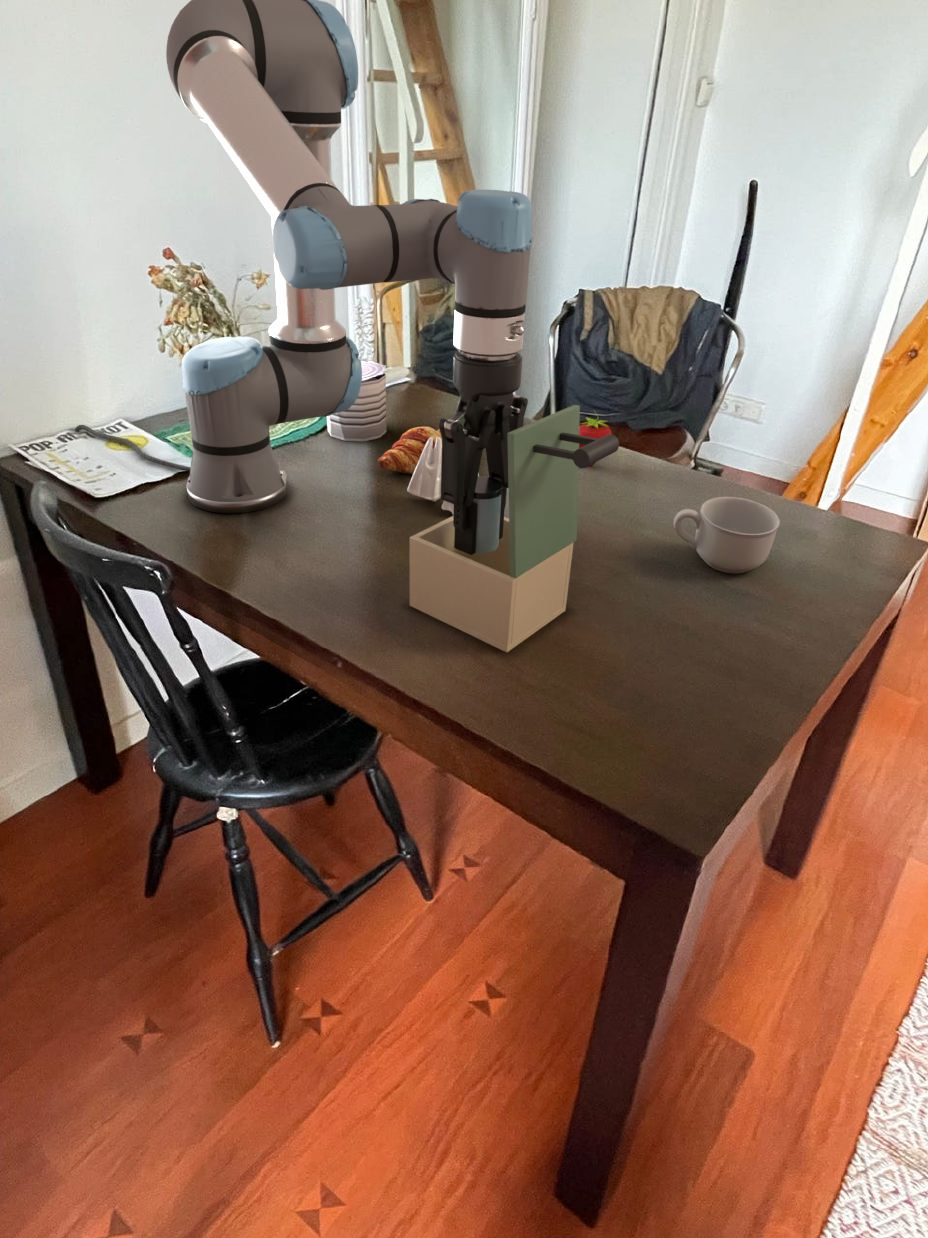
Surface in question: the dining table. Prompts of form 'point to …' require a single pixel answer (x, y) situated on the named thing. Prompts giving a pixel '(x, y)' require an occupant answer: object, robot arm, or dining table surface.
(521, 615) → the tan storage tray
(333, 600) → the dining table surface
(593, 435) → the strawberry
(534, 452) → the lid
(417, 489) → the shaker set
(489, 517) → the coffee tin
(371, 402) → the can
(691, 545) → the teacup
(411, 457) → the croissant
